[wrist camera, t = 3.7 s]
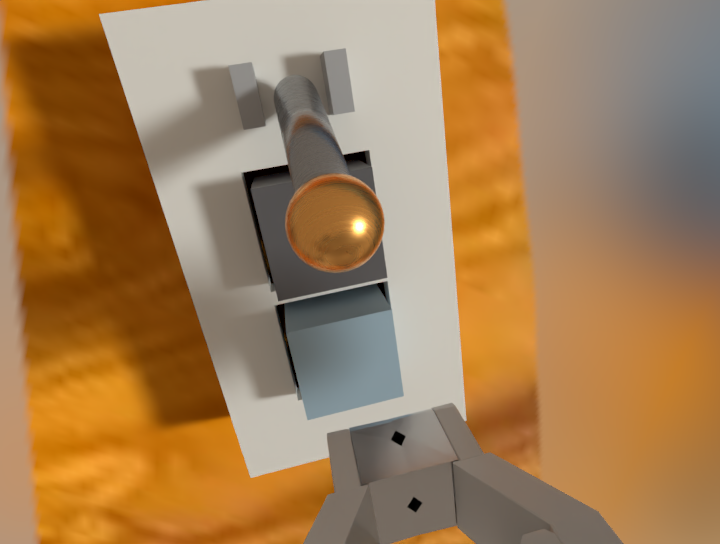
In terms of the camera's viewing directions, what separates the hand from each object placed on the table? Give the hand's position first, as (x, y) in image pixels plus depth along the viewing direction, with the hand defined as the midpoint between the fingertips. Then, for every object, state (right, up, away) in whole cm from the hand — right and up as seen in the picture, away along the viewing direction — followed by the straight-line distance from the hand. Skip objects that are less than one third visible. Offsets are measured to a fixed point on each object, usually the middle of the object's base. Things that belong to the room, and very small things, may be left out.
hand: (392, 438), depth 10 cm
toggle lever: (-3, +9, +2) cm, 9 cm away
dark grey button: (-2, +6, +5) cm, 8 cm away
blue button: (-2, +2, +6) cm, 7 cm away
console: (-3, +5, +8) cm, 10 cm away
